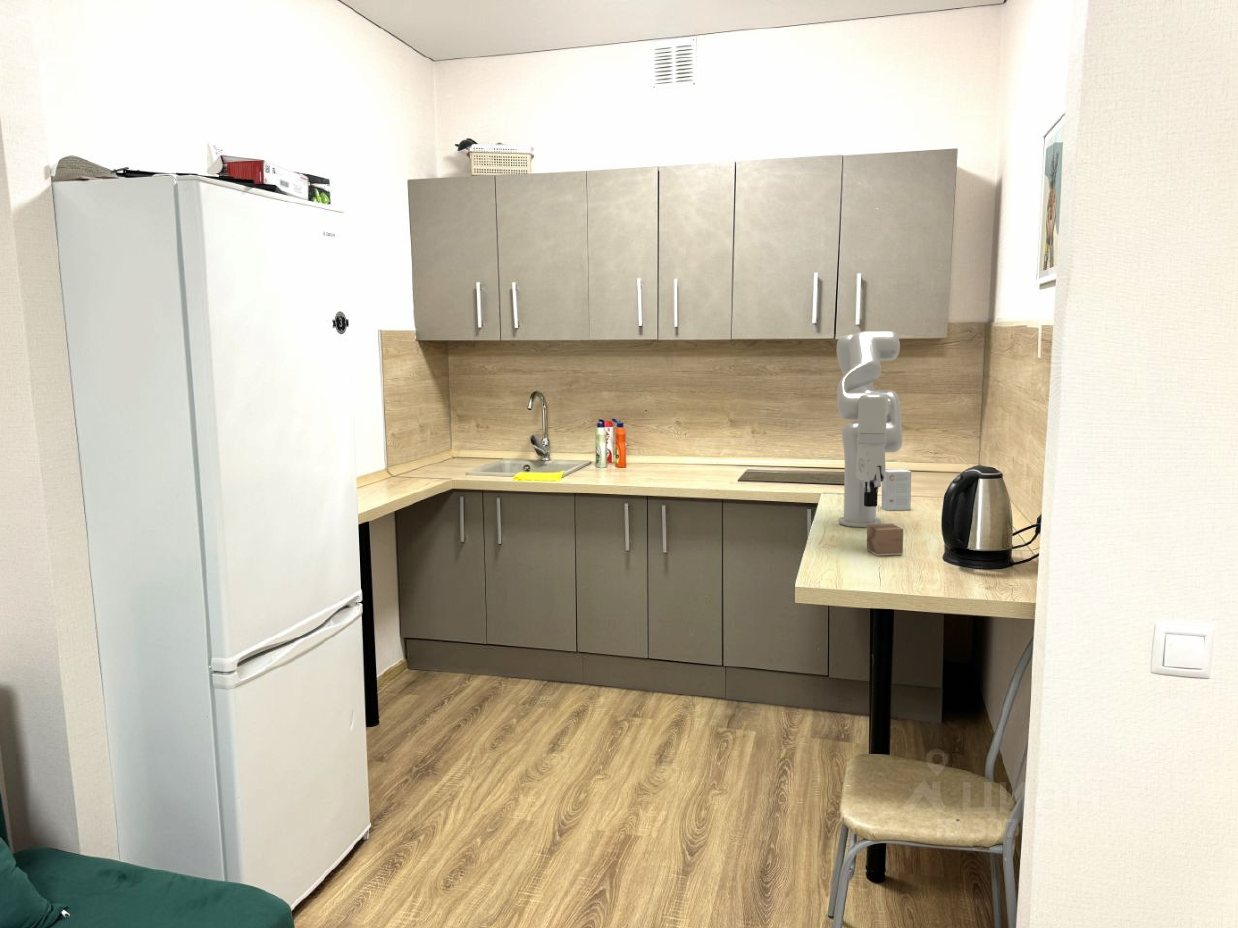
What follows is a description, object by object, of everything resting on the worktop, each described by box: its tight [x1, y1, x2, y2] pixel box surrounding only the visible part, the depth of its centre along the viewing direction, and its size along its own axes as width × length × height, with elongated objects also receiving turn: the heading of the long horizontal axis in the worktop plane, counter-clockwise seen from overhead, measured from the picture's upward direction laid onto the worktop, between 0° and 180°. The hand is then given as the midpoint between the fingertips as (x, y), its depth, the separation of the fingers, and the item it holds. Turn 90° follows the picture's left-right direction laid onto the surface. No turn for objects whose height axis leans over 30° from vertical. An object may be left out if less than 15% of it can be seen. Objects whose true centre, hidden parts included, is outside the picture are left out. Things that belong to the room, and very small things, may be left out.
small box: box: [881, 468, 912, 511], centre depth 293 cm, size 8×6×13 cm
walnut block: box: [866, 523, 904, 557], centre depth 233 cm, size 7×7×7 cm
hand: (870, 506), depth 241 cm, fingers closed
